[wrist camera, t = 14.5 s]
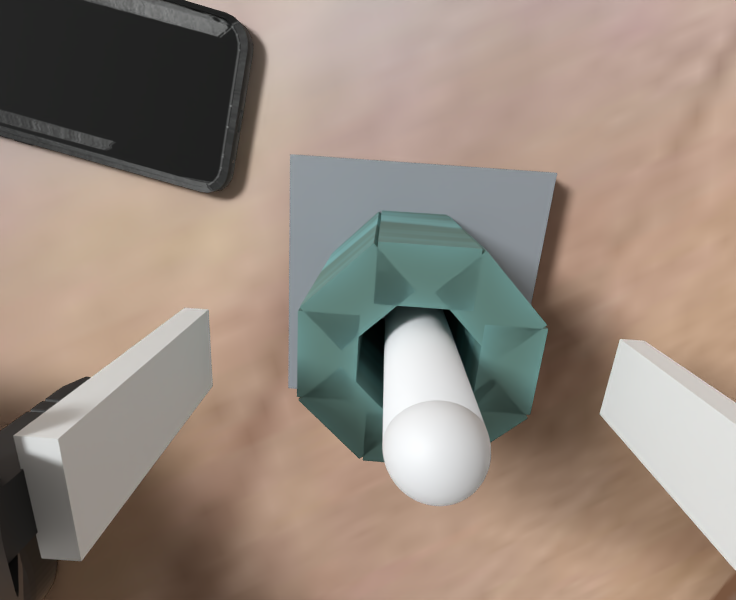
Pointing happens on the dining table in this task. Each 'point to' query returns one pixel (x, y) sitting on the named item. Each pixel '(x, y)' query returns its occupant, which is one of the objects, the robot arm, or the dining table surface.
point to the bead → (414, 289)
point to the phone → (127, 84)
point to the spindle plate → (414, 191)
